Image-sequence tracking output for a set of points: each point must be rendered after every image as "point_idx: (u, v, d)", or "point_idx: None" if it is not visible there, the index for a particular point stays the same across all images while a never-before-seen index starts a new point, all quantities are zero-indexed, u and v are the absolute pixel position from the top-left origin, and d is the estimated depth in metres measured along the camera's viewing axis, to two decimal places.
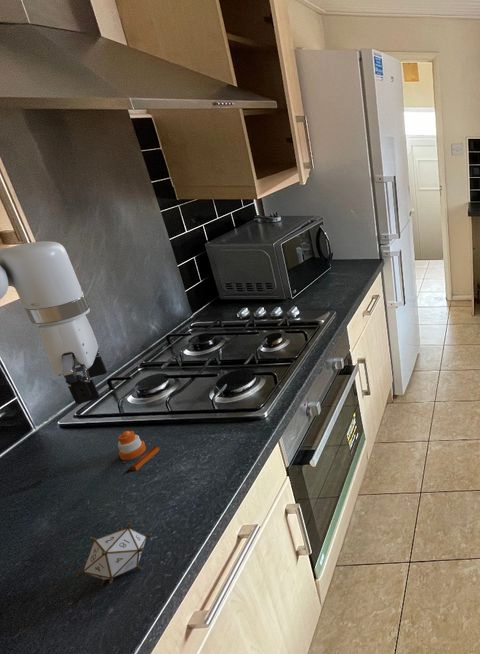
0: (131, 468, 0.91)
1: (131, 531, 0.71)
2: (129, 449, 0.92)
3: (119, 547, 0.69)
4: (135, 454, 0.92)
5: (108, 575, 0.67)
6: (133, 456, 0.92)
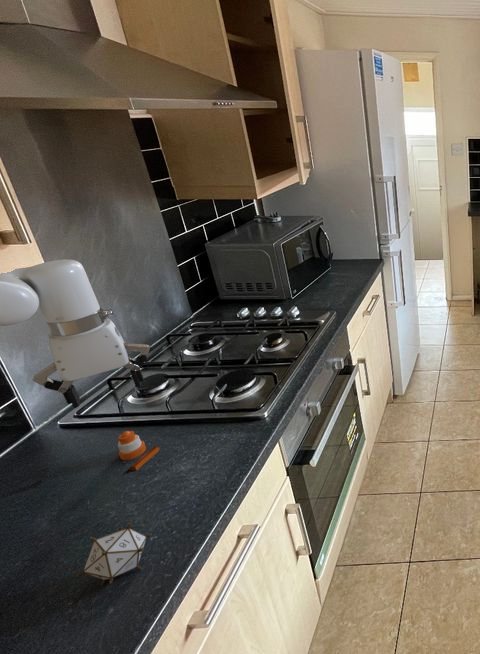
0: (131, 468, 0.91)
1: (131, 531, 0.71)
2: (129, 449, 0.92)
3: (119, 547, 0.69)
4: (135, 454, 0.92)
5: (108, 575, 0.67)
6: (133, 456, 0.92)
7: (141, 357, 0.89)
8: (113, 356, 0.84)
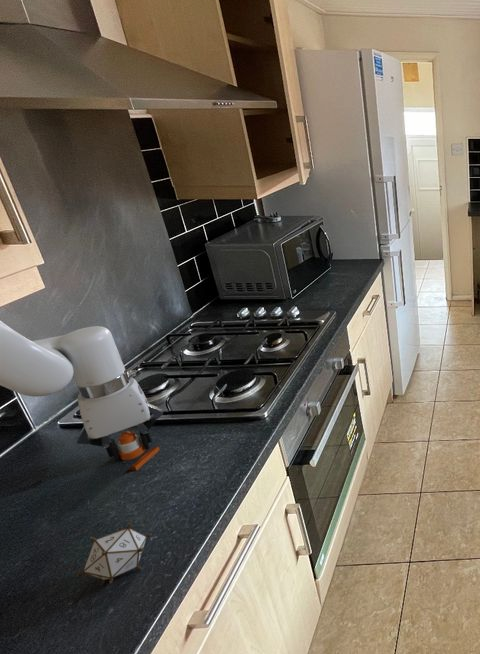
0: (131, 468, 0.91)
1: (131, 531, 0.71)
2: (129, 449, 0.92)
3: (119, 547, 0.69)
4: (135, 454, 0.92)
5: (108, 575, 0.67)
6: (133, 456, 0.92)
7: (151, 420, 0.94)
8: (136, 413, 0.90)
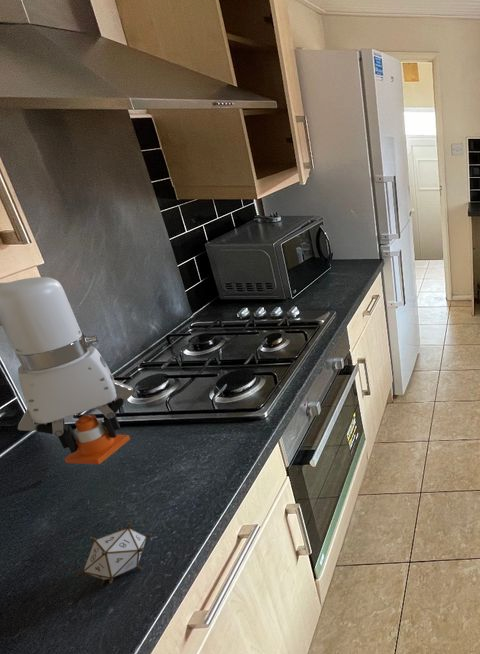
0: (92, 462, 0.72)
1: (131, 531, 0.71)
2: (89, 437, 0.72)
3: (119, 547, 0.69)
4: (97, 444, 0.73)
5: (108, 575, 0.67)
6: (95, 446, 0.73)
7: (118, 401, 0.74)
8: (98, 391, 0.71)
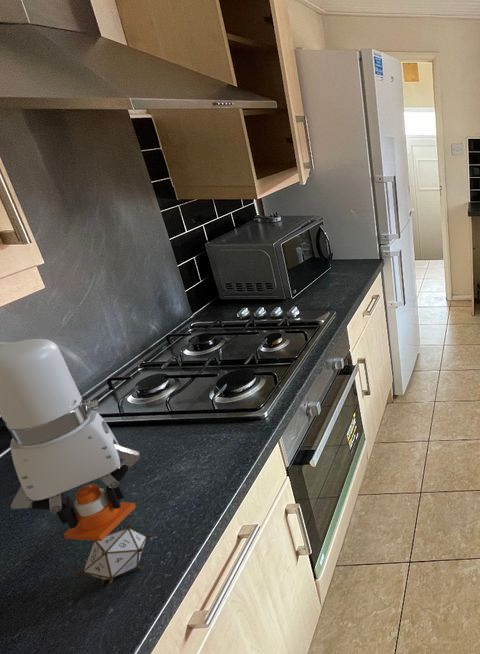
0: (93, 538, 0.65)
1: (131, 531, 0.71)
2: (91, 511, 0.65)
3: (119, 547, 0.69)
4: (99, 517, 0.66)
5: (108, 575, 0.67)
6: (97, 520, 0.65)
7: (122, 468, 0.67)
8: (99, 461, 0.63)
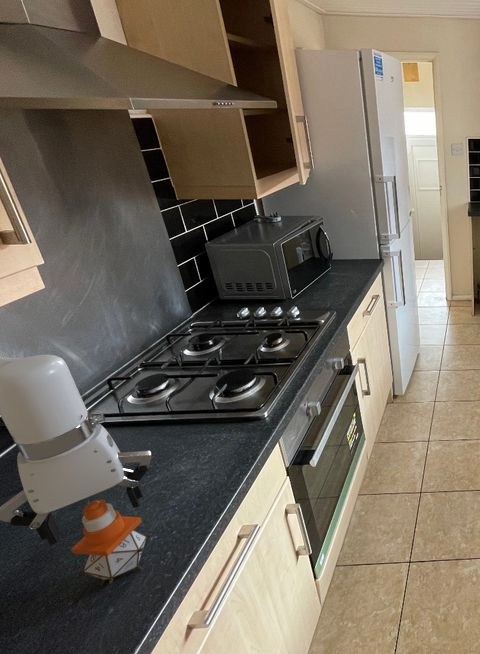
0: (101, 553, 0.66)
1: None
2: (98, 526, 0.66)
3: (119, 547, 0.69)
4: (106, 532, 0.67)
5: (108, 575, 0.67)
6: (104, 535, 0.67)
7: (140, 469, 0.69)
8: (104, 474, 0.64)
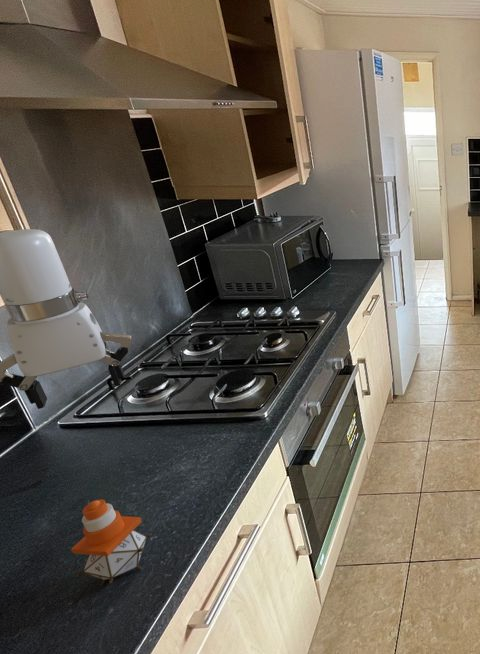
0: (101, 553, 0.66)
1: None
2: (98, 526, 0.66)
3: (119, 547, 0.69)
4: (106, 532, 0.67)
5: (108, 575, 0.67)
6: (104, 535, 0.67)
7: (121, 350, 0.75)
8: (86, 348, 0.71)
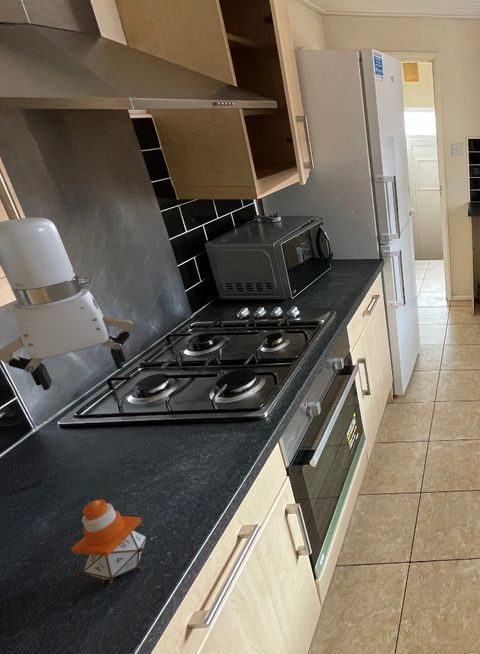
0: (101, 553, 0.66)
1: None
2: (98, 526, 0.66)
3: (119, 547, 0.69)
4: (106, 532, 0.67)
5: (108, 575, 0.67)
6: (104, 535, 0.67)
7: (123, 334, 0.78)
8: (90, 331, 0.74)
